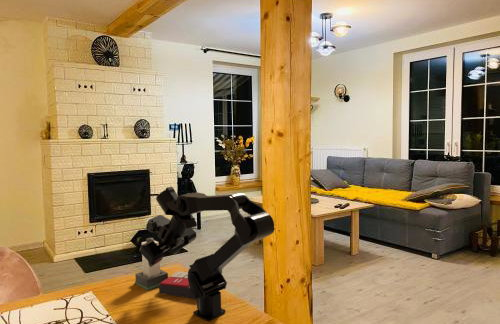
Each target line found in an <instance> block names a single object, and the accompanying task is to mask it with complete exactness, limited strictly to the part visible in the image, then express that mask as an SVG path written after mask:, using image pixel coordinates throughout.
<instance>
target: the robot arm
mask: <svg viewBox="0 0 500 324" xmlns="http://www.w3.org/2000/svg"><path fill="white" fill-rule="evenodd" d="M155 201H156V202H157V203H158V205H159V206H160V208H161V210H162V211H163V213H164V215H165V216H164V215H161V214H159V215H157V216H153V217H151V218H150V220H148V221H147V222H146V225H145V227H146V228H145V229H146V231H148V232H149V233H151V234H152V233H156V234H157V238H159V240H161V243H159V245H157V244H156V243H155V242H154V241H155V240H154V241H149V242H147V243H145V244H143V245H142V244H141V246H140V248H139V253H140V254H141V256H142V255H143V256H144V257H145V258H146V259H147V260H148V265H149V266H150V267H152V266H153V265H155V264H156V263H158V262H161V261H163V258H164V256H165V254H164V253H165V252H166V251H168V250H169V249H170V253H171V255H174V254H175V253H176V252H178V251H180V250H181V249H183V248H185V247H186V246H187V245H189V244H191V243H192V242H194V241H196V238H197V232H196V231H195V230H194V229H193V228H196V227H198V224H197V221H196V219H195V217H194V216H193V214H197V213H202V212H205V211H206V212H207V211H208V212H211V211H214V212H215V211H227V212H228V213H229V215H230V219H231V224H232V225H233V226H234V234H233V235H232V236H231V237H230V238H229V239H228V240H227V241H226V242H224V243H223V244H222V246H220V247H219V248H218V249H217V250H216V251H215V252H214V253H210V254H208V255H205V256H202V257H199V258H197V259H195V260H194V262H193V263H192V264H189V265H188V266H189V269H188V270H187V272H188V282H189V286H190V290H191V294H192V295H194V298H197V300H196V310H194V311H193V315H194V316H197V317H200V318H201V319H203V320H206V321H208V322H210V321H211V320H213V319H216V318H217V317H219V316H221V315H223V314H224V313H226V309H225V308H222V292H221V291H223V290H225V289H226V288H227V284H228V282H227V281H226V279H225V277H224V276H223V269H224V268H225V267H226V266H227V265H228V264H230V263H231V261H233V260H234V259H235V258H236V257H237V256H238V255H239V254H240V255H241V253H242V252H244V251H245V249H246V248H248V247H249V246H250V245H251V244H253V243H256V242H258V241H260V240H263V239H264V238H267V237H268V236H270V235H273V234H274V232H275V221H274V218H273V217H272V216H271V215H270V213H268V212H267V211H266V210H265V209H264V208H263V207H262V206H261V205H259V204H258V203H255V202H254V201H252V200H251V199H250V198H249V197H248V196H247V195H246V194H245V193H242V192H237V193H232V194H218V195H217V194H215V195H206V194H205V193H203V192H191V193H186V194H181V195H178V193H177V192H176V190H175V189H174V187H173V186H168V187H166V188H165V189H164V190H163V191H161V192H160V193H158V194H157V195H156V198H155ZM240 210H242V211H243V212H245V213H246V214H248V215H247V216H243V214H242V213H240V212H241V211H240ZM166 216H171V218H170V219H169V218H167V217H166ZM212 282H213V283H212ZM209 283H212V284H209ZM207 284H209V285H207ZM204 285H207V286H205V287H202V286H204Z"/></svg>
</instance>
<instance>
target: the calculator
mask: <svg viewBox="0 0 500 324" xmlns="http://www.w3.org/2000/svg"><path fill="white" fill-rule="evenodd" d="M212 283H213V282H212ZM212 283H209V284H212ZM209 284H207V285H209ZM207 285H204V286H202V287H205V286H207ZM158 293H159V294H162V295H168V296H172V297H173V296H174V297H181V298H187V299H190V300H191V299H192V300H196V301H197V298H194V295H192V294H191V290H190V286H189V282H188V271H179V270H178V271H175V273H173V274H171V275H170V276H168V278H167V279H165V280H164V281H162V282H161V284H159V286H158Z"/></svg>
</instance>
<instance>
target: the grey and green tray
mask: <svg viewBox="0 0 500 324" xmlns="http://www.w3.org/2000/svg"><path fill="white" fill-rule="evenodd" d="M134 275H135V276H134V277H135V280H134V284H136V285H137V286H139V287H141V288H142V289H144V290H146V291H150V290H152V289H155V288H159V284H161V282H162V281H164V280H165V279H167V278H168V277H169V274H168V272H166V271H165V270H162V269H160V274H159V275H156V276H153V277H150V278H147V277H145V276H143V270H142V271H140V272H137V273H135V274H134Z"/></svg>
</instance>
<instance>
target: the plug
mask: <svg viewBox="0 0 500 324" xmlns="http://www.w3.org/2000/svg"><path fill="white" fill-rule="evenodd" d="M149 241H154V242H155V243H156V244H157V245H160V243H159V241H157V240H155V239H154V237H148V238H146V239H145V241H142V242H141V246H142V245H143V244H145V243H147V242H149ZM141 256H142V257H141V258H142V262H141V263H142V271H143V276H145V277H147V278H150V277H153V276H156V275H159V274H160V270H161V264H160V262H161V261H160V262H158V263H156V264H155V265H153V266H152V267H150V266H149V265H148V260H147V259H146V258H145V257H144V256H143V255H142V254H141Z"/></svg>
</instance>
